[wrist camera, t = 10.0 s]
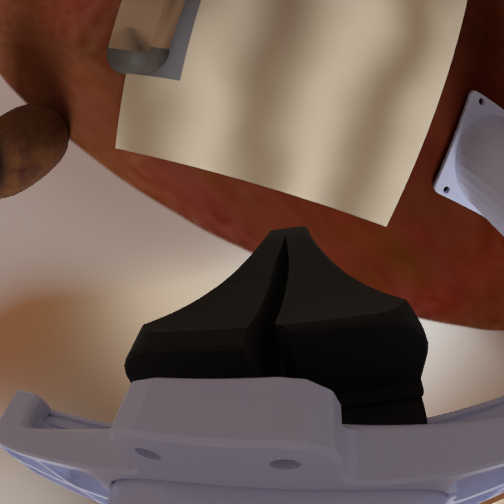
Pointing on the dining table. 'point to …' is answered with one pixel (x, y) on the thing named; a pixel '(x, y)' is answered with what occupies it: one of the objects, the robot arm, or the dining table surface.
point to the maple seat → (298, 95)
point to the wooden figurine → (29, 146)
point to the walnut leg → (143, 35)
